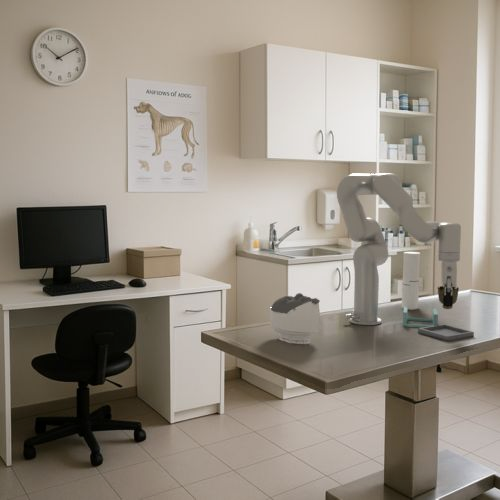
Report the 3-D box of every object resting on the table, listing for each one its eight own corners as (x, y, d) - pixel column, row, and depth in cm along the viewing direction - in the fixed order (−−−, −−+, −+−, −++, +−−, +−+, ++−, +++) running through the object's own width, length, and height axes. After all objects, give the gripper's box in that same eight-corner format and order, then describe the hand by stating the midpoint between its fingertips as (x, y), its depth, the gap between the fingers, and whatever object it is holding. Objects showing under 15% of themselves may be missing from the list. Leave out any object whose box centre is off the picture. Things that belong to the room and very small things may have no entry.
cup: (432, 307, 228) (433, 286, 227) (448, 305, 231) (449, 284, 230) (446, 311, 222) (447, 289, 221) (462, 309, 224) (463, 288, 224)
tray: (446, 341, 218) (446, 336, 218) (418, 332, 230) (418, 328, 230) (473, 336, 225) (473, 331, 225) (444, 328, 237) (444, 324, 237)
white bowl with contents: (328, 342, 216) (285, 332, 230) (329, 294, 214) (286, 287, 228) (305, 349, 207) (262, 338, 220) (306, 299, 205) (262, 292, 218)
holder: (437, 328, 237) (437, 314, 236) (402, 326, 240) (403, 312, 240) (436, 321, 248) (436, 308, 248) (403, 319, 252) (403, 306, 251)
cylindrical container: (418, 309, 271) (420, 253, 268) (401, 308, 272) (404, 253, 270) (417, 306, 278) (419, 252, 275) (401, 305, 279) (403, 251, 276)
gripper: (461, 259, 215) (459, 309, 217) (458, 254, 232) (456, 300, 234) (439, 259, 217) (437, 308, 219) (437, 253, 234) (436, 299, 236)
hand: (447, 303), depth 226 cm, fingers closed on cup, 7 cm apart
